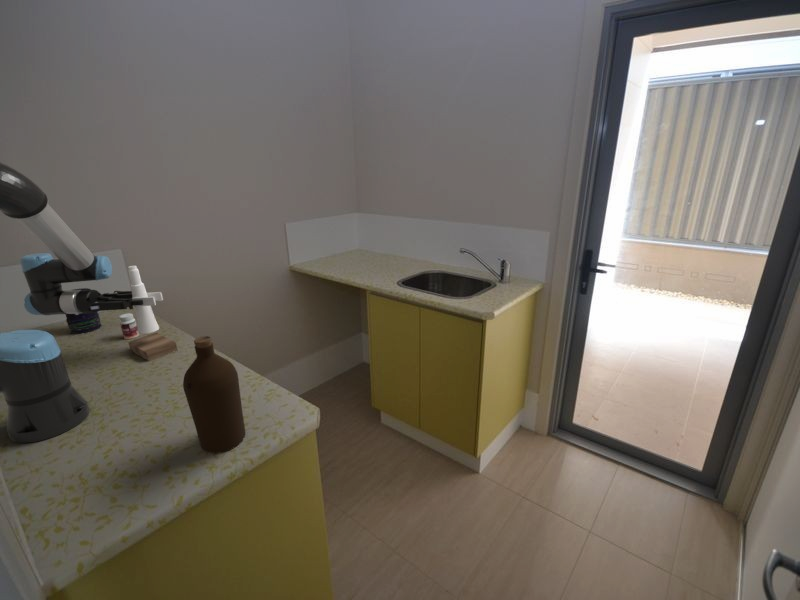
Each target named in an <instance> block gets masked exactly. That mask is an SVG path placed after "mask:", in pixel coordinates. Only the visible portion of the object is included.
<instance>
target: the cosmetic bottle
mask: <svg viewBox="0 0 800 600" xmlns="http://www.w3.org/2000/svg"><path fill="white" fill-rule="evenodd" d="M127 268H128V270H127V272H128V275H129V279H130V283H131V284H130V291H131V292H132V297H133V298H134V297H148V295H147V293H148V292H147V290H146V286H145V283H143V282H142V278H141V275H140V271H139V269H138V267H137V265H129V266H128V267H127ZM134 309H135V314H136V321H137V322H136V323H137V328H138V333H139V335H147V334H149V335H150V334H154V333H156V332H157V331H159V329H160V326H159V323H158V322H157V320H156V316H155V315H154V311H153V307H152V306H134Z"/></svg>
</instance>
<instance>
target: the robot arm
mask: <svg viewBox="0 0 800 600" xmlns="http://www.w3.org/2000/svg"><path fill="white" fill-rule="evenodd" d="M0 212H1V213H3V214H4V216H6V217H8V218H10V219H13V220H17V221H18V222H19V223H20V225H22V226H23V227H25V229H27V231H28V232H30V233H31V234H32V235H33V236H34V237H35V238H36V239H37V240H38V241H39V242H41V244H43V245H44V246H45V247H46V248H47V249H48V250H49V251H50V252H51V253H52V254H53V255H54V256H55V257H56V259H54V258H53V256H52V254H51V253H50V252H49V253H48V252H45V253H44V252H37V253H31V254H27V255H24V256H22V257H21V258H20V259H19V261H20V265H21V270H22V273H23V275H24V278H25V280H26V283H27V286H28V288H29V291H30V292H29V293H27V294H26V295H25V297H24V299H23V300H24V303H23V306H24V309H25V310H26V312H27V313H29V314H31V315H34V316H55V315H57V316H58V315H65V314H76V315H79V313H96V312H98V313H99V312H101V311H103V312H104V311H118V310H120V311H121V310H127V309H128V308H129V310H134V307H135V306H151V307H152V306H156V305H157V302H159V301H160V302H161V301H163V300H164V297H163V293H162V292H161V291H156V292H155V291H154V292H147V295H148V297H134V298H133V297H132V292H131V290H123V291H122V290H114V291H113V293H109V292H107V293H100V292H99V291H98V290H96V289H91V290H74V289H68V290H63V288H62V284H66V283H76V282H77V283H80V282H90V281H99V280H106V279H107V280H108V279H110V278H111V277H112V274H113V265H112V262H111V260H110V259H109V257H108V256H105V255H94V254H93V253H92V251H90V249H89V248H88V247H87V246H86V245H85V243H83V241H82V240H81V239H80V238H79V237H78V236H77V234H76V233H74V231H73V230H72V229H71V228H70V226H68V225H67V224H66V222H65V221H64V220H63V219H62V218H61V217H60V216H59V214H58V213H57V212H56V210H54V209H53V208H52V207H51V206H50V204H49V198H48V196H47V194H46V193H45V192H44V191H43V190H42V189H41V187H40V186H38V184H36V183H35V182H34V181H33V180H31V179H30V178H29V177H28V176H26V175H24V174H23V173H21V172H20V171H18V170H17V169H15V168H13V167H11V166H9V165H7V164H5V163H3V162H0ZM61 352H62V351H61V348H60V346H59V345H58V343H57V341H56V339H55V336H54V335H52V334H51V333H49V332H47V331H44V330H42V329H17V330H11V331H9V332H1V333H0V394H2V395H3V397H4V400H5V401H6V405H7V416H6V417H7V418H6V431H7V432H6V433H7V435H8V437H9V439H10V440H11V441H12V442H15V443H20V444H29V443H35V442H41V441H45V440H49V439H51V438H53V437H56V436H59V435H61V434H64V433H65V432H67V431H70V430H72V429H73V428H75V427H76V426H78V425H79V424H81V423H82V422H83V421H84V420H86V419H87V417H88V416H89V415H90V411H91V409H90V407H89V404H88V401H87V400H86V399H85V397H83V395H82V394H81V393H80V392H79V391H78V390H77V389H76V388H75V387H74V386H73V384H72V382H71V379H70V376H69V372H68V370H67V367H66V364H65V362H64V361H65V360H64V358H63V356H62V353H61Z"/></svg>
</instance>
